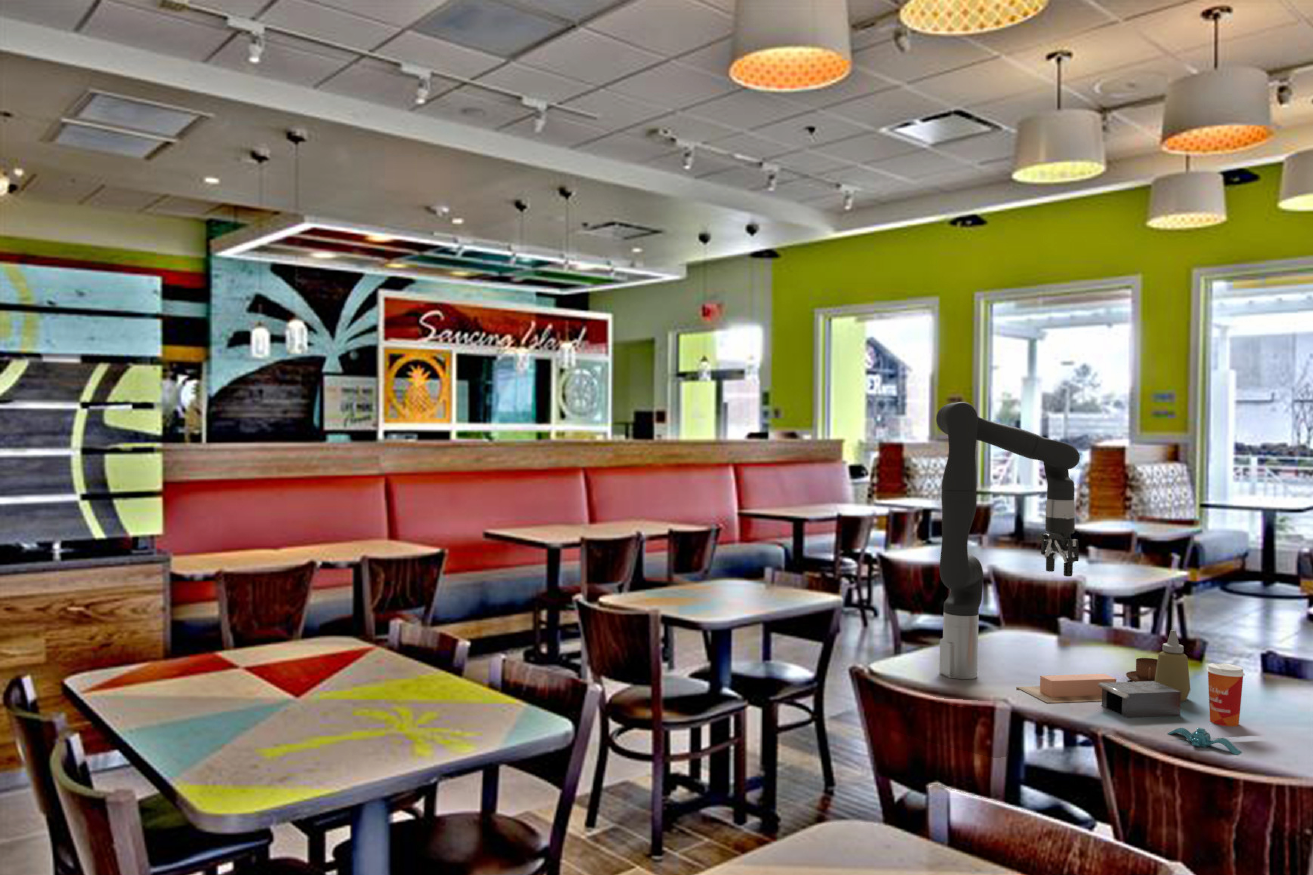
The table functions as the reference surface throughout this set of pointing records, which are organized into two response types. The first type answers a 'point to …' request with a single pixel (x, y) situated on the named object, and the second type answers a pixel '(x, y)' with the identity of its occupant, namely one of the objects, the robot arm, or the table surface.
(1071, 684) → the block
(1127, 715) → the dispenser
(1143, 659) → the cup and saucer
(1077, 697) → the board
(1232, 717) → the paper cup
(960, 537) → the robot arm
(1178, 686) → the squeeze bottle
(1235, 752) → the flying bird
